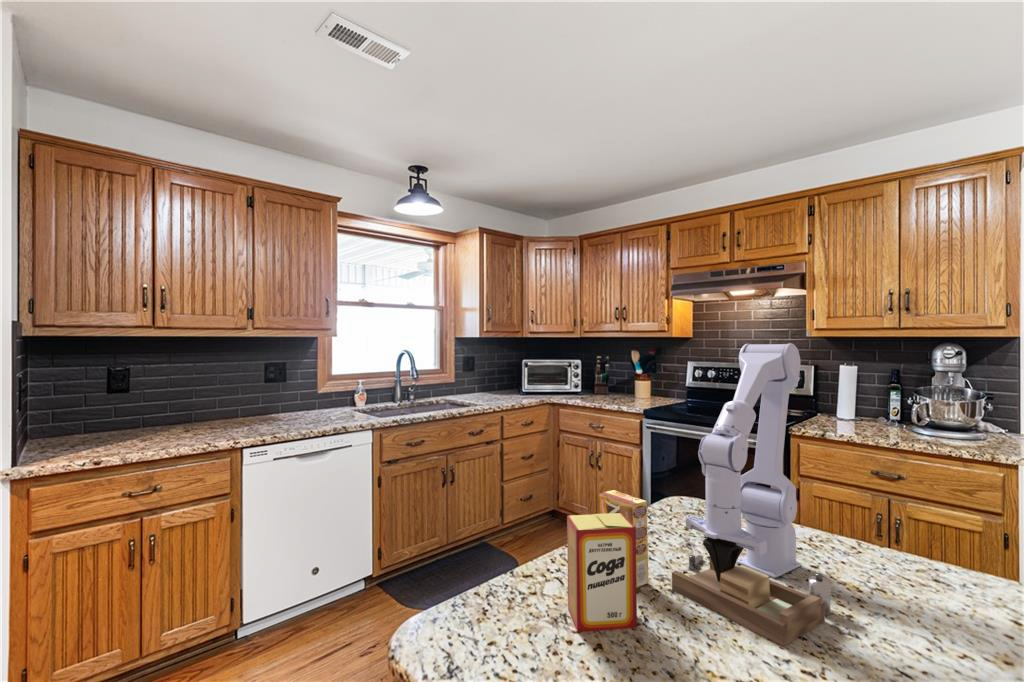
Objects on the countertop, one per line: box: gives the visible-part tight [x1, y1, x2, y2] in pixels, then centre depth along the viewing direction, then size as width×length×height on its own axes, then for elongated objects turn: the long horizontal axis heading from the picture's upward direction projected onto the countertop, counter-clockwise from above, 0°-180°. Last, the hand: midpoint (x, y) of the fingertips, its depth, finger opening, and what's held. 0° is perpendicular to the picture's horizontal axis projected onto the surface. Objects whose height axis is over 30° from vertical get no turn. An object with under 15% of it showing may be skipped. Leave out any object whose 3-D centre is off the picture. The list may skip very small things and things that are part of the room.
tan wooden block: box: [720, 564, 771, 608], centre depth 83 cm, size 6×5×4 cm
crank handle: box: [688, 554, 704, 572], centre depth 98 cm, size 6×1×3 cm, turn 142°
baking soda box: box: [566, 513, 638, 633], centre depth 79 cm, size 10×6×16 cm
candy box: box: [598, 489, 650, 589], centre depth 93 cm, size 9×4×15 cm, turn 33°
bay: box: [671, 558, 826, 647], centre depth 83 cm, size 12×20×4 cm, turn 32°
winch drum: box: [808, 572, 831, 617], centre depth 81 cm, size 3×3×6 cm
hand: (724, 581), depth 86 cm, fingers closed
